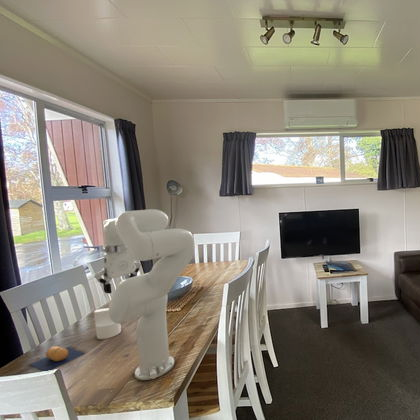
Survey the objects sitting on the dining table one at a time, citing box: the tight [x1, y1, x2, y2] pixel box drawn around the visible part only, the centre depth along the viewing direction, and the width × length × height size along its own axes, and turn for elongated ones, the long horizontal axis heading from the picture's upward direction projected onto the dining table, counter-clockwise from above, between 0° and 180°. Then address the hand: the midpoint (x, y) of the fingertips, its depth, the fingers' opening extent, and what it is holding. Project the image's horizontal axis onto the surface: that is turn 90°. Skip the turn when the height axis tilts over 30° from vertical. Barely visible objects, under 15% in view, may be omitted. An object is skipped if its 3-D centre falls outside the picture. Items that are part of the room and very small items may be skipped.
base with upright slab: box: [93, 307, 122, 340], centre depth 126 cm, size 9×9×12 cm
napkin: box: [30, 347, 85, 372], centre depth 108 cm, size 12×12×1 cm
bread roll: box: [45, 345, 68, 361], centre depth 108 cm, size 9×5×5 cm, turn 68°
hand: (121, 288), depth 113 cm, fingers open, 9 cm apart
